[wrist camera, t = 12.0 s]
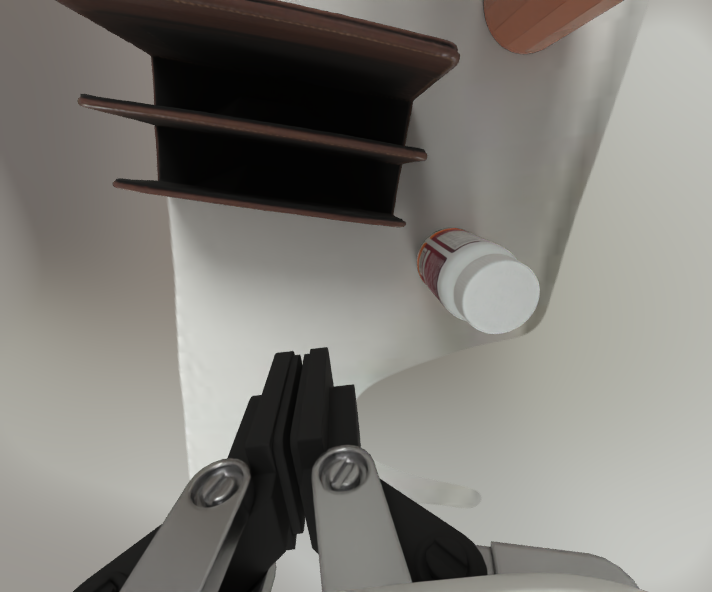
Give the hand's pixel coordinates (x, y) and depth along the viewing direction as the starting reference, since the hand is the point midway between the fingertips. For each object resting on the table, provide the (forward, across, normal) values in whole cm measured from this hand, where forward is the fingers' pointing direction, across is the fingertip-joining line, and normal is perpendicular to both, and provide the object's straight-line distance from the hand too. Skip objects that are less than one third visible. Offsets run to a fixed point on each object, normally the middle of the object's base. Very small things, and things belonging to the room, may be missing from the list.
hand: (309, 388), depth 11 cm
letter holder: (+22, +2, -9) cm, 24 cm away
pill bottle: (+22, -11, +2) cm, 25 cm away
